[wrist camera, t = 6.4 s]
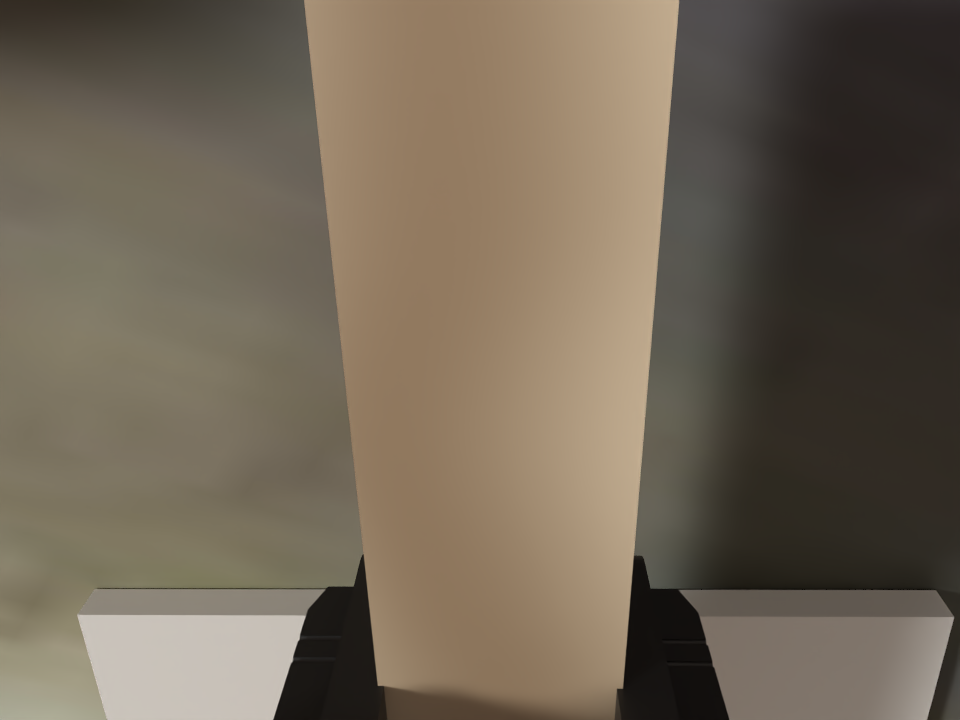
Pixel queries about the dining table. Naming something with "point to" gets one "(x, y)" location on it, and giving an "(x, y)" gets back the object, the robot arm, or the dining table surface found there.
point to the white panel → (723, 613)
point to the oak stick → (495, 332)
